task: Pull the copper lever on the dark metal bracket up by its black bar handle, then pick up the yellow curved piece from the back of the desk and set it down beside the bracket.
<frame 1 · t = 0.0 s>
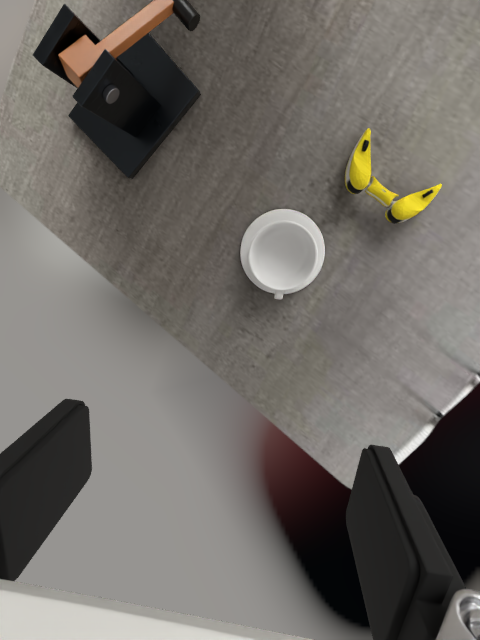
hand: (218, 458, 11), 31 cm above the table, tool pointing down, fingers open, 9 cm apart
bracket: (135, 107, 36), on the table
teacup: (281, 252, 39), on the table
yellow curved piece: (381, 183, 36), on the table
lever: (128, 34, 27), point 8 cm above the table, hinge at -25.0°
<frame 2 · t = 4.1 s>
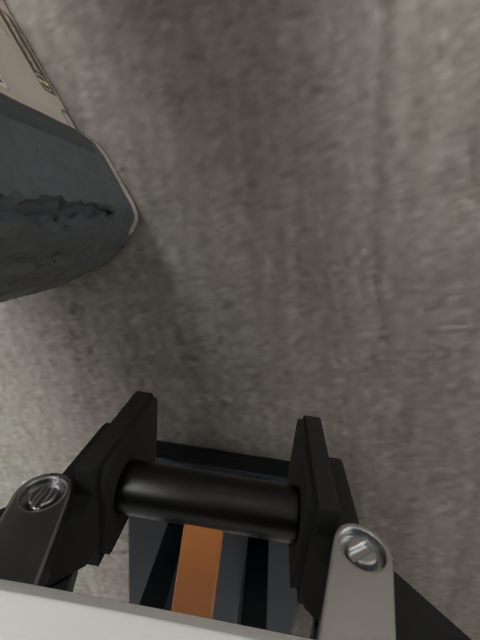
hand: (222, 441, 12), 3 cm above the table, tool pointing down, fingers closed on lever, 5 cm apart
camera: (28, 134, 13), on the table
bracket: (218, 542, 18), on the table
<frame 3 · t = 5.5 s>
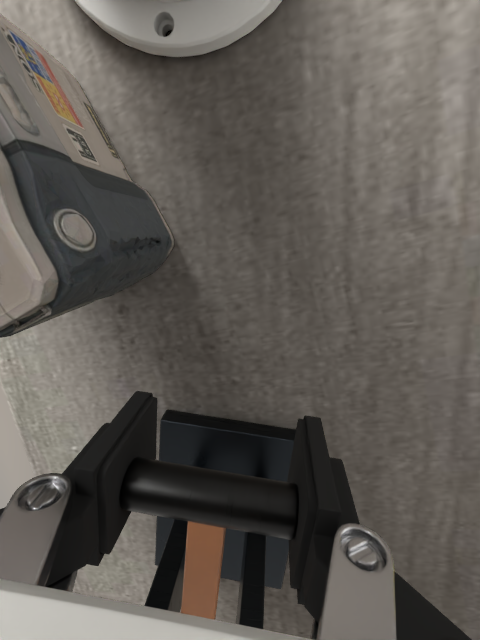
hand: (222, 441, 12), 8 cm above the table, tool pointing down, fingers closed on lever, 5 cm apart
camera: (95, 182, 17), on the table
bracket: (227, 495, 22), on the table
lever: (198, 619, 11), point 10 cm above the table, hinge at -0.2°, touching gripper
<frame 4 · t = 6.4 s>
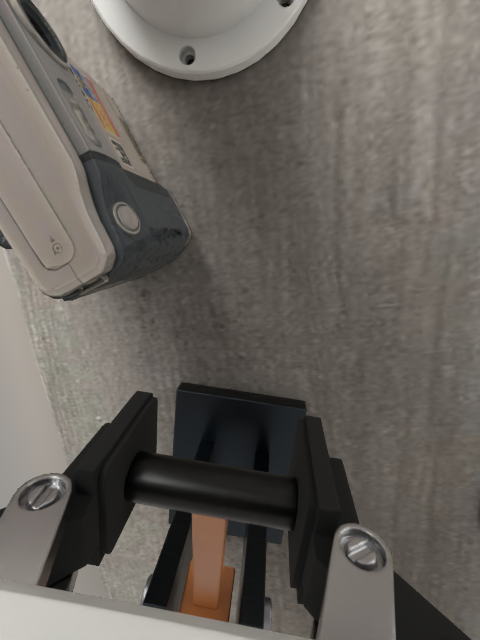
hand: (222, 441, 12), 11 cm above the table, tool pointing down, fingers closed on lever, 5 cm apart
camera: (124, 183, 20), on the table
bracket: (233, 460, 25), on the table
lever: (209, 563, 13), point 11 cm above the table, hinge at 16.9°, touching gripper
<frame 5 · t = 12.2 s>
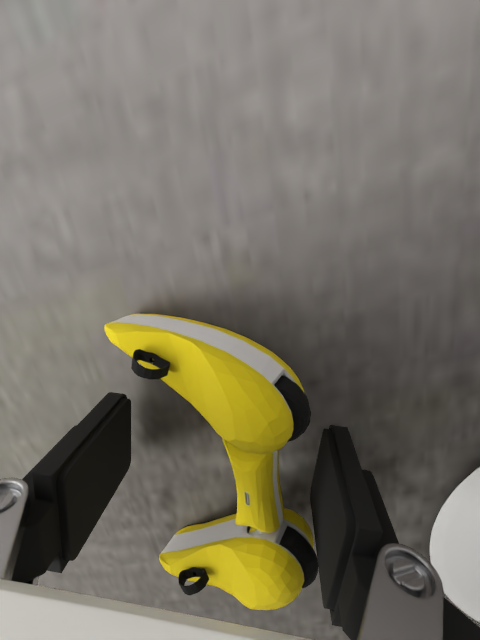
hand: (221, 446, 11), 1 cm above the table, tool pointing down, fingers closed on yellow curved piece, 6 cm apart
yellow curved piece: (224, 430, 12), on the table, touching gripper
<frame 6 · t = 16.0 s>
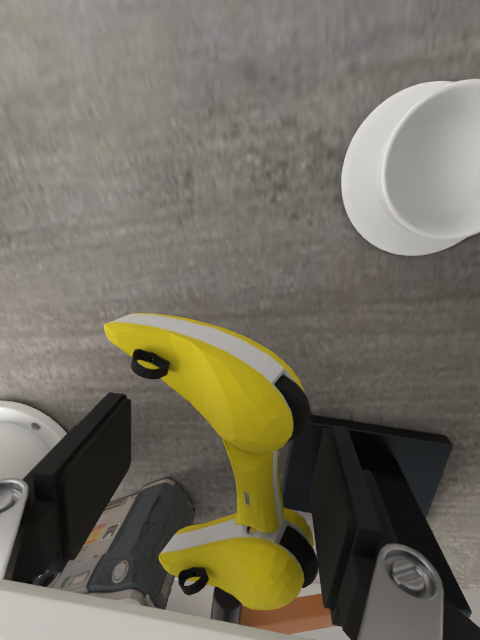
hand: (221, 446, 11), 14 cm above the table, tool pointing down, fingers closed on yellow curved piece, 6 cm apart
camera: (141, 507, 32), on the table
bracket: (357, 468, 28), on the table
teacup: (419, 175, 21), on the table
yellow curved piece: (224, 430, 12), point 13 cm above the table, touching gripper
lever: (323, 610, 17), point 11 cm above the table, hinge at 17.4°
when the fingers open (1 cm above the table, at t = 19.6 s): yellow curved piece stays where it is, on the table.
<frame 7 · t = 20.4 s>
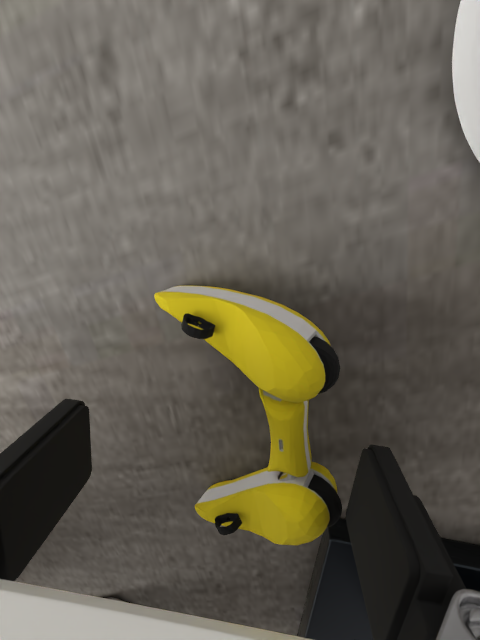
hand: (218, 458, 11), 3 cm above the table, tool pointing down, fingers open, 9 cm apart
bracket: (434, 608, 16), on the table
yellow curved piece: (255, 394, 14), on the table
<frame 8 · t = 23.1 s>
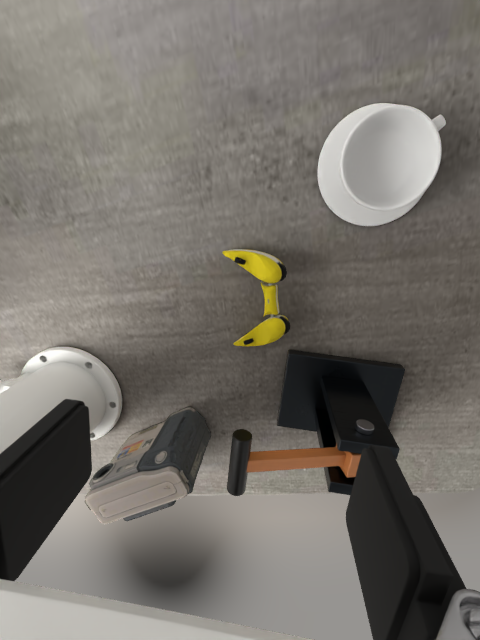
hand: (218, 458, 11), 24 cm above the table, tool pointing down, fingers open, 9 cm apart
camera: (168, 434, 41), on the table
bracket: (336, 393, 36), on the table
teacup: (372, 168, 30), on the table
yellow curved piece: (258, 294, 34), on the table
lever: (304, 458, 26), point 11 cm above the table, hinge at 17.4°
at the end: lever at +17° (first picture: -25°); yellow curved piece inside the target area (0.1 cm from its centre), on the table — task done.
